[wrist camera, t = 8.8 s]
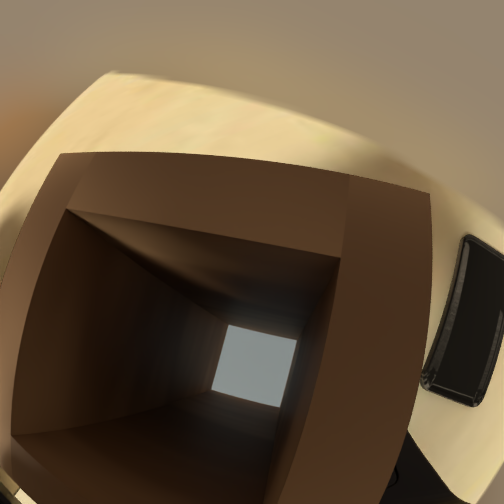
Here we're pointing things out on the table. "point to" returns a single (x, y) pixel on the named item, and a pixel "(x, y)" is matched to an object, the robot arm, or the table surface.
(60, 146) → the table surface
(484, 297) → the phone
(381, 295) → the walnut sleeve
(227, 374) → the pad
